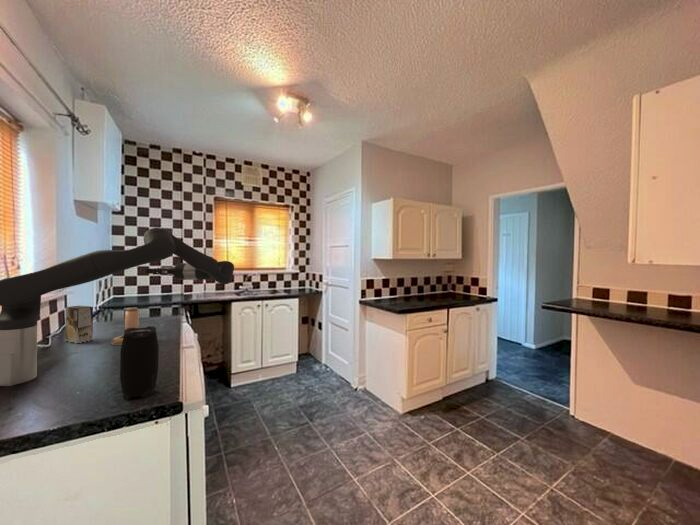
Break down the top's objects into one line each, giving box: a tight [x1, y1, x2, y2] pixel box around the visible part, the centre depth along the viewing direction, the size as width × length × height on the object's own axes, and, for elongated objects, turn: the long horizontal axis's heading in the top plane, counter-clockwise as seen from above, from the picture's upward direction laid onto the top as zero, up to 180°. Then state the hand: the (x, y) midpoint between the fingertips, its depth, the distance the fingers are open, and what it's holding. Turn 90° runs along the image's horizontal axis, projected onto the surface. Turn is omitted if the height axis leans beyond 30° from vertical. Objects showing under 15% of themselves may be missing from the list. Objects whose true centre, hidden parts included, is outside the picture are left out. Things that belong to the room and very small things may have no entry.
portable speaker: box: [119, 325, 160, 401], centre depth 91 cm, size 9×9×20 cm
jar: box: [124, 307, 140, 330], centre depth 144 cm, size 5×5×15 cm
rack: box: [110, 334, 124, 346], centre depth 145 cm, size 12×10×2 cm
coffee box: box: [64, 305, 94, 344], centre depth 142 cm, size 9×6×16 cm
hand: (151, 270), depth 139 cm, fingers open, 8 cm apart
